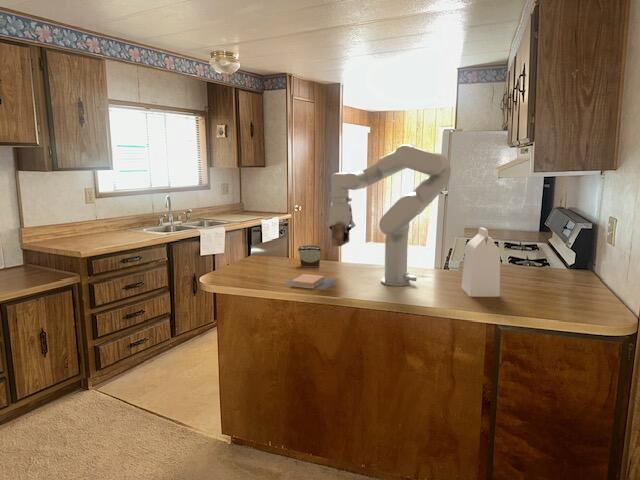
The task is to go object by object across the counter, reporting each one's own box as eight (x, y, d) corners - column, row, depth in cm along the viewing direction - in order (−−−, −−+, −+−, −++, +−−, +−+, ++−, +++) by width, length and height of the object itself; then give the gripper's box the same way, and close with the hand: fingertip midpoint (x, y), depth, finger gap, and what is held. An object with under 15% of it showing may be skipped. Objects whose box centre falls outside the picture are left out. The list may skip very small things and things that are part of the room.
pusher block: (349, 241, 210) (349, 222, 209) (340, 246, 199) (339, 226, 198) (341, 241, 212) (341, 222, 210) (331, 245, 201) (331, 225, 199)
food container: (323, 264, 233) (323, 245, 231) (322, 266, 227) (322, 247, 225) (299, 263, 234) (299, 244, 232) (298, 266, 228) (297, 247, 226)
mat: (339, 280, 201) (339, 279, 201) (324, 291, 186) (324, 289, 186) (299, 276, 209) (299, 275, 209) (281, 286, 194) (281, 284, 194)
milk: (461, 287, 189) (464, 226, 184) (489, 287, 188) (492, 226, 184) (469, 296, 177) (473, 231, 172) (499, 296, 177) (503, 231, 172)
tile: (324, 276, 198) (313, 283, 187) (324, 281, 198) (313, 288, 187) (303, 273, 202) (291, 280, 191) (303, 279, 202) (291, 286, 191)
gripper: (360, 200, 202) (360, 240, 205) (326, 199, 209) (326, 238, 212) (355, 201, 195) (355, 243, 199) (319, 201, 202) (320, 241, 205)
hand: (340, 240), depth 205 cm, fingers closed on pusher block, 4 cm apart
